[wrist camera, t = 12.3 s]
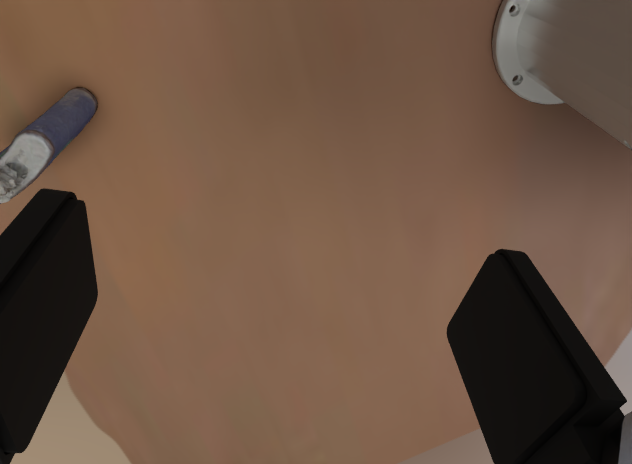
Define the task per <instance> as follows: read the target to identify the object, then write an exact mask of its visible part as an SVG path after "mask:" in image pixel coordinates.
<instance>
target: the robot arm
mask: <svg viewBox="0 0 632 464" xmlns="http://www.w3.org/2000/svg"><path fill="white" fill-rule="evenodd" d="M512 5H513V9H512V10H511V11H509V9H510V8H511V6H512ZM492 49H493V59H494V63H495V66H496V70H497V72H498V74H499V75H500V77H501V79H502V81H503V82H504V83H505V84H506V85H507V86H508V87H509V88H510V89H511V90H512V91H513V92H514V93H516V94H517V95H518V96H520V97H522V98H524V99H526V100H528V101H530V102H534V103H539V104H561V103H566V104H568V105H569V106H570V107H572V108H573V109H575V110H576V111H577V112H579V113H580V114H582V115H583V116H584V117H586V118H587V119H589V120H590V121H591V122H593V123H594V124H596V125H597V126H598V127H600V128H601V129H603V130H604V131H605V132H607V133H608V134H610V135H611V136H612V137H614V138H615V139H617V140H618V141H619V142H621V143H622V144H624V145H625V146H626V147H628V148H629V149H631V150H632V0H503V2H502V4H501V6H500V8H499V11H498V14H497V18H496V21H495V25H494V31H493V39H492ZM514 77H515V78H514ZM513 78H514V79H513ZM97 295H98V289H97V282H96V275H95V268H94V261H93V254H92V247H91V240H90V233H89V226H88V219H87V212H86V206H85V203H84V201H82V200H77V197H76V195H75V194H74V193H73V192H67V191H59V190H52V189H41V190H40V191H38V192H37V194H36V195H35V196H34V197H33V198H32V199H31V200H30V202H29V203H28V204H27V205H26V206H25V207H24V209H23V210H22V211H21V212H20V213H19V214H18V215H17V217H16V218H15V219H14V220H13V221H12V222H11V224H10V225H9V226H8V227H7V228H6V229H5V231H4V232H3V233H2V234H1V235H0V464H10V462H11V460H12V458H13V456H14V454H15V453H22V452H23V451H25V449H26V448H27V446H28V445H29V443H30V441H31V439H32V437H33V435H34V433H35V430H36V428H37V426H38V424H39V422H40V420H41V418H42V416H43V414H44V412H45V409H46V407H47V405H48V403H49V401H50V399H51V397H52V395H53V392H54V391H55V388H56V386H57V384H58V382H59V380H60V378H61V376H62V374H63V372H64V370H65V368H66V365H67V363H68V361H69V359H70V357H71V355H72V353H73V351H74V349H75V347H76V345H77V342H78V340H79V338H80V336H81V334H82V332H83V330H84V328H85V326H86V324H87V321H88V319H89V317H90V315H91V313H92V311H93V309H94V307H95V304H96V301H97ZM447 338H448V341H449V344H450V346H451V349H452V352H453V355H454V357H455V360H456V363H457V365H458V368H459V371H460V373H461V376H462V379H463V381H464V384H465V387H466V390H467V392H468V395H469V398H470V400H471V403H472V406H473V408H474V411H475V414H476V417H477V419H478V422H479V425H480V427H481V430H482V433H483V435H484V438H485V441H486V443H487V446H488V449H489V452H490V454H491V457H492V460H493V462H494V464H632V412H630V413H628V414H627V415H625V416H624V415H623V413H622V412H621V410H620V407H621V406H622V405H624V404H625V403H626V402H627V400H626V398H625V397H624V396H623V394H622V393H621V391H620V390H619V388H618V387H617V385H616V384H615V383H614V381H613V379H612V378H611V377H610V375H609V374H608V372H607V371H606V369H605V368H604V366H603V365H602V363H601V362H600V361H599V359H598V358H597V356H596V355H595V353H594V352H593V350H592V349H591V347H590V346H589V345H588V343H587V342H586V340H585V339H584V337H583V336H582V334H581V333H580V331H579V330H578V328H577V327H576V326H575V324H574V323H573V321H572V320H571V318H570V317H569V315H568V314H567V312H566V311H565V310H564V308H563V307H562V305H561V304H560V302H559V301H558V299H557V298H556V296H555V295H554V294H553V292H552V291H551V289H550V288H549V286H548V285H547V283H546V282H545V280H544V279H543V277H542V276H541V275H540V273H539V272H538V270H537V269H536V267H535V266H534V264H533V263H532V261H531V260H530V259H529V257H528V256H527V255H526V254H525V253H524V252H521V251H513V250H506V249H499V250H497V251H496V252H495V253H494V254H491V255H489V256H488V257H487V259H486V261H485V262H484V264H483V266H482V267H481V269H480V271H479V273H478V274H477V276H476V278H475V279H474V281H473V283H472V285H471V286H470V288H469V290H468V291H467V293H466V295H465V297H464V298H463V300H462V302H461V303H460V305H459V307H458V309H457V310H456V312H455V314H454V315H453V317H452V319H451V321H450V322H449V324H448V327H447Z"/></svg>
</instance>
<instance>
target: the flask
mask: <svg viewBox="0 0 632 464" xmlns="http://www.w3.org/2000/svg"><path fill="white" fill-rule="evenodd" d="M93 97H94V95H91V93H90V92H89V91H87V90H86V89H85V88H74V89H72V90H70V91H68V92H67V93H66V95H65V96H64V97H63V98H61V99H60V100H59V101H58V102H57V103H55V104H54V105H53V106H52V107H51V108H50V109H49V110H47V111H46V112H45V113H44V114H43V115H42V116H40V117H39V118H38V119H37V120H35V121H34V122H33V123H31V124H30V125H28V126H27V127H26V128H25V129H24V130H22V131H21V132H19V133H18V134H17V135H16V136H15V138H14V139H13V141H12V143H11V144H10V145H9V146H8V147H7V148H6V149H4V150H3V151H2V152H0V204H1V203H4V202H8V201H10V199H11V198H13V197H14V196H16V195H18V194H19V193H20V192H22V191H23V190H24V189H25V188H26V187H28V186H29V185H30V184H31V183H32V182H34V181H35V180H36V179H37V178H38V177H39V175H40V174H41V173H42V172H43V171H44V170H45V169H46V168H47V167H48V166H49V165H50V164H51V163H52V161H53V160H54V159H55V158H56V157H57V156H58V154H59V153H60V152H61V151H62V150H63V149H64V148H65V147H66V146H67V145H68V144H69V143H70V142H71V141H72V140H73V139H74V138H75V137H76V136H77V135H78V134H79V133H80V132H81V131H82V129H83V128H84V127H85V125H86V124H87V123H88V122H89V121H90V119H91V118H92V117H93V115H94V114H95V112H96V109H97V104H98V103H97V101H96V98H95V97H94V99H93Z"/></svg>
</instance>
